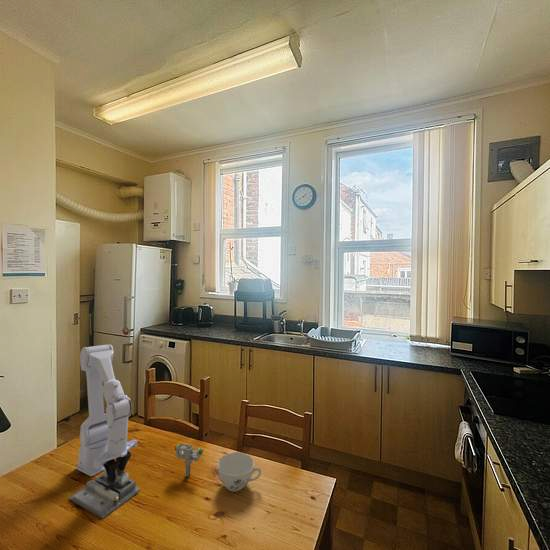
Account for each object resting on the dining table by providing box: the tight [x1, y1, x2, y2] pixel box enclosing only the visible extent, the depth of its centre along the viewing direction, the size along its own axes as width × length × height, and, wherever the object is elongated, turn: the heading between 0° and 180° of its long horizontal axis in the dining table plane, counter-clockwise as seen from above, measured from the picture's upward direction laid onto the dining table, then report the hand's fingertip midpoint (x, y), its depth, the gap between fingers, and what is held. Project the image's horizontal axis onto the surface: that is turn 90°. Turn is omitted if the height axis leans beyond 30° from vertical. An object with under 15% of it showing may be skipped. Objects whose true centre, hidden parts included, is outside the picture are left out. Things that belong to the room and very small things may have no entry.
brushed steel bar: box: [103, 468, 130, 489], centre depth 97 cm, size 9×2×5 cm, turn 64°
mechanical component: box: [174, 443, 204, 478], centre depth 105 cm, size 3×10×10 cm, turn 78°
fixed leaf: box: [68, 473, 141, 520], centre depth 94 cm, size 16×13×3 cm
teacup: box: [216, 451, 262, 493], centre depth 101 cm, size 15×12×8 cm
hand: (115, 478), depth 97 cm, fingers closed on brushed steel bar, 2 cm apart
